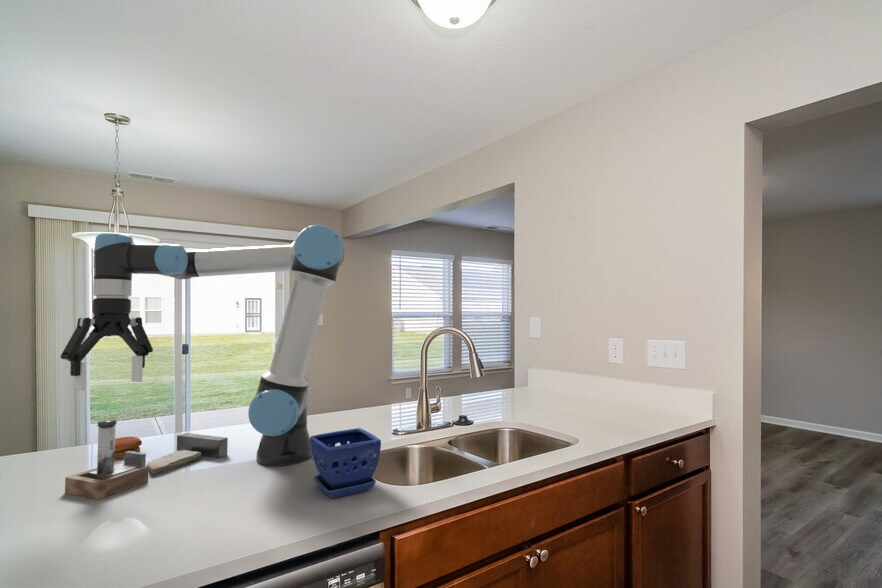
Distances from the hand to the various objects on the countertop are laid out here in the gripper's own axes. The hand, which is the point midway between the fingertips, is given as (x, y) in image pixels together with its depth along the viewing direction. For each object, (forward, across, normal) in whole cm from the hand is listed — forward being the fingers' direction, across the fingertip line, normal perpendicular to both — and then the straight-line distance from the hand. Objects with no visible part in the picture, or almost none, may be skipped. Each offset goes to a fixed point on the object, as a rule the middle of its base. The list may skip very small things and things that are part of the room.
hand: (109, 385), depth 107 cm
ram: (+22, -1, +2) cm, 22 cm away
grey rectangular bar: (+23, -25, +3) cm, 34 cm away
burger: (+24, -18, -19) cm, 35 cm away
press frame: (+23, 0, +2) cm, 23 cm away
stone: (+24, -16, +3) cm, 29 cm away
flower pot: (+24, -15, +55) cm, 62 cm away
